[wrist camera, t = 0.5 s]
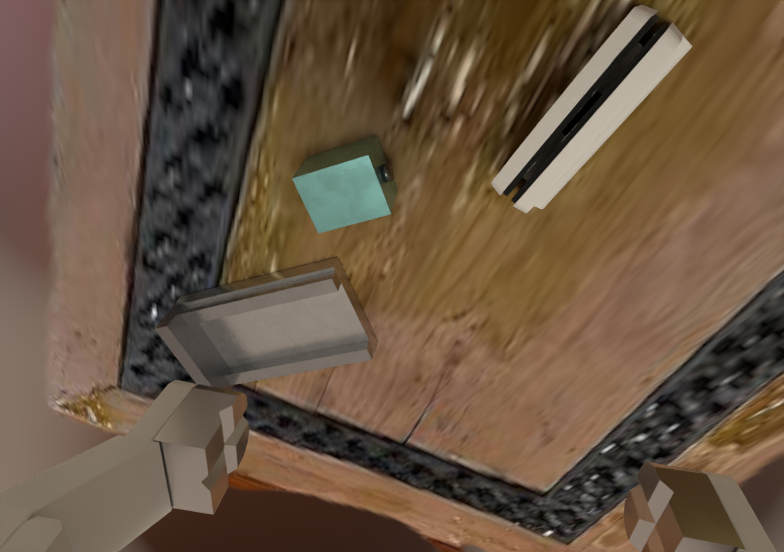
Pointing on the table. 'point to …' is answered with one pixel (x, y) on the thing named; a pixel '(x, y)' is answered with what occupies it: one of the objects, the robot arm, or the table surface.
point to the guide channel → (269, 326)
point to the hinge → (592, 108)
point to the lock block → (346, 185)
